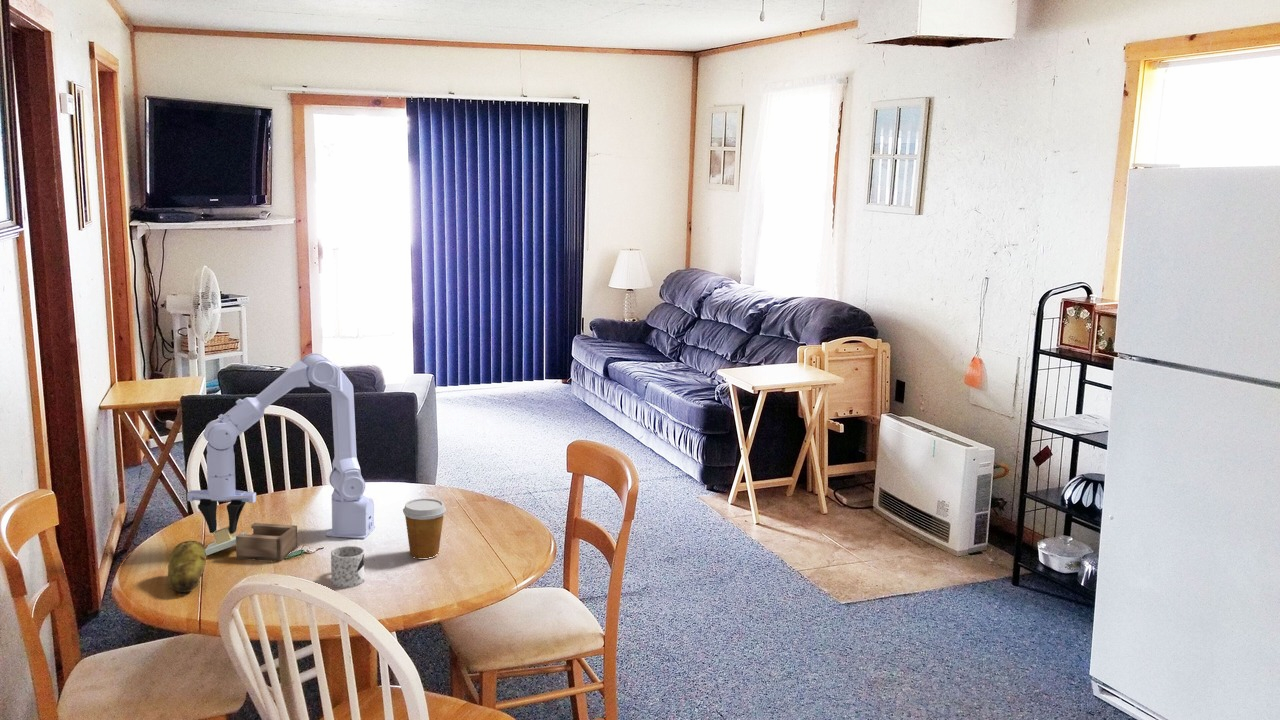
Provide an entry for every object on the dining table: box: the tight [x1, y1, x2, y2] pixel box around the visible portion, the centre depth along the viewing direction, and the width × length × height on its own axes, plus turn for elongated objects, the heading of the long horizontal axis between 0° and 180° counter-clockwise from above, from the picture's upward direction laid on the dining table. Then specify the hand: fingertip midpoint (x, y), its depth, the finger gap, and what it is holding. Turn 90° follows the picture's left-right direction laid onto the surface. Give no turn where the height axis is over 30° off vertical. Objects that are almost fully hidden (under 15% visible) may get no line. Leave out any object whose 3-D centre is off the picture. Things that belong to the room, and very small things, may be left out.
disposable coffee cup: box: [402, 498, 447, 559], centre depth 219 cm, size 10×10×12 cm
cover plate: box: [205, 525, 246, 556], centre depth 216 cm, size 8×6×4 cm
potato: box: [167, 540, 207, 593], centre depth 198 cm, size 8×13×8 cm, turn 3°
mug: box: [330, 545, 365, 589], centre depth 204 cm, size 10×7×7 cm, turn 21°
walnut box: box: [235, 522, 298, 563], centre depth 216 cm, size 10×9×5 cm
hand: (223, 531), depth 217 cm, fingers closed on cover plate, 4 cm apart
